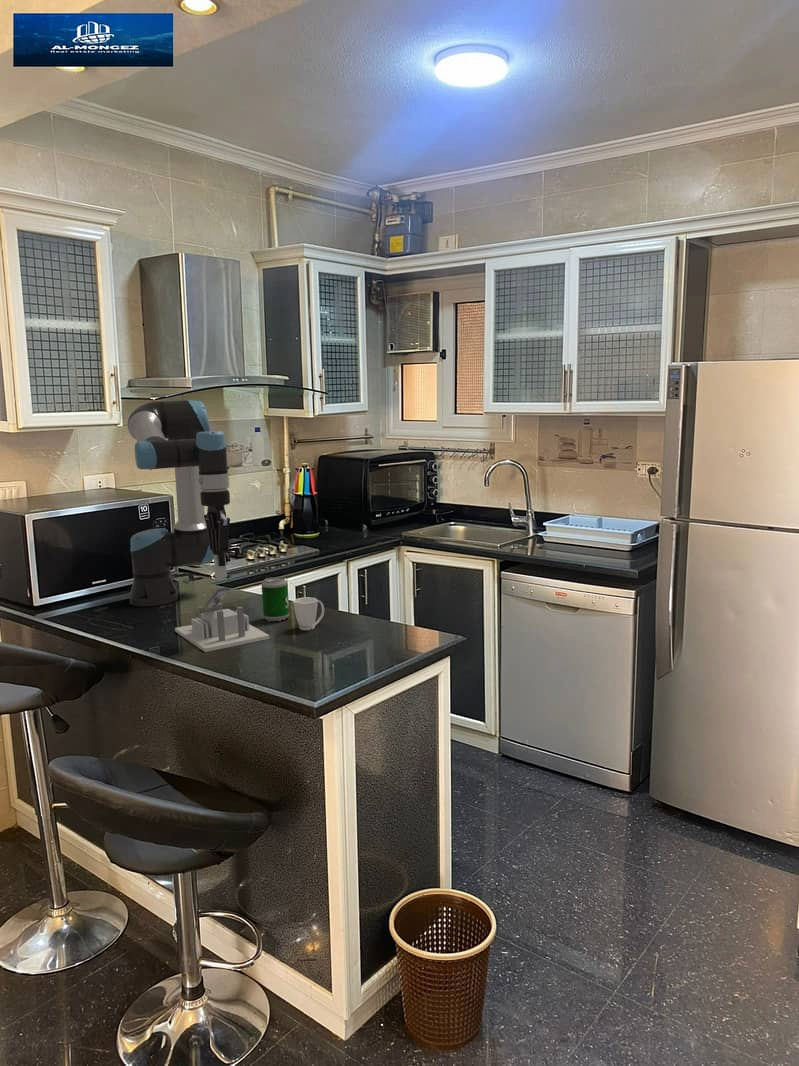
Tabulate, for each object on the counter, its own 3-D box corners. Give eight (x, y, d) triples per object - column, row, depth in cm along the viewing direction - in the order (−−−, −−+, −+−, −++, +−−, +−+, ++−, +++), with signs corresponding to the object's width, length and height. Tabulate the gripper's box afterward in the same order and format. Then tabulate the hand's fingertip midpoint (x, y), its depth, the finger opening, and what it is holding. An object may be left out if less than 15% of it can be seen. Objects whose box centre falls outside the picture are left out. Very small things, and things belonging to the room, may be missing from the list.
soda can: (284, 622, 227) (282, 582, 225) (259, 622, 228) (257, 582, 226) (293, 615, 234) (290, 576, 232) (269, 615, 236) (266, 576, 234)
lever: (205, 609, 221) (203, 603, 221) (215, 607, 223) (214, 601, 223) (219, 592, 210) (217, 586, 210) (229, 590, 211) (228, 585, 212)
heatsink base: (175, 631, 222) (172, 600, 220) (235, 620, 232) (233, 590, 230) (205, 652, 202) (202, 618, 201) (269, 638, 212) (267, 606, 210)
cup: (289, 628, 221) (287, 600, 219) (316, 620, 228) (314, 593, 227) (305, 633, 216) (303, 604, 215) (332, 625, 223) (331, 597, 222)
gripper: (192, 489, 211) (199, 575, 215) (209, 493, 200) (216, 583, 204) (219, 487, 215) (225, 571, 219) (237, 490, 204) (243, 579, 208)
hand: (221, 577), depth 211 cm, fingers closed
